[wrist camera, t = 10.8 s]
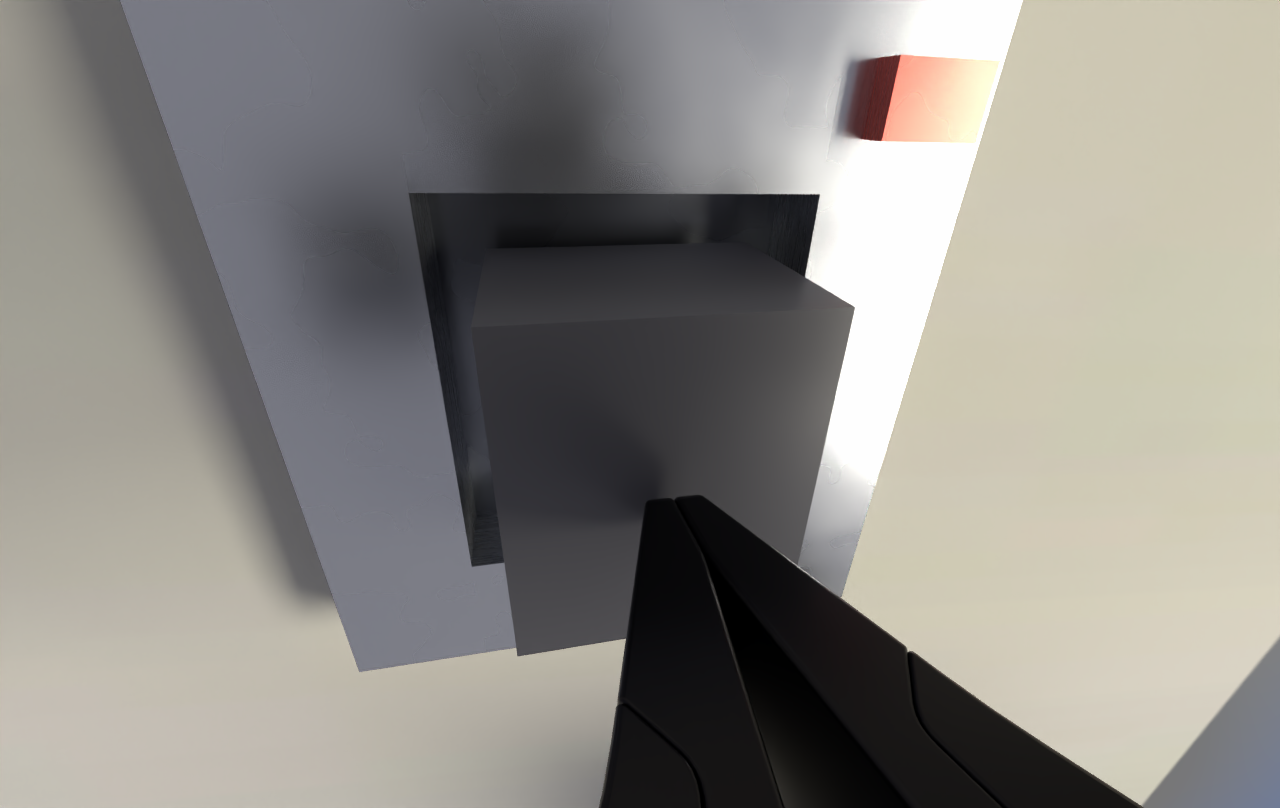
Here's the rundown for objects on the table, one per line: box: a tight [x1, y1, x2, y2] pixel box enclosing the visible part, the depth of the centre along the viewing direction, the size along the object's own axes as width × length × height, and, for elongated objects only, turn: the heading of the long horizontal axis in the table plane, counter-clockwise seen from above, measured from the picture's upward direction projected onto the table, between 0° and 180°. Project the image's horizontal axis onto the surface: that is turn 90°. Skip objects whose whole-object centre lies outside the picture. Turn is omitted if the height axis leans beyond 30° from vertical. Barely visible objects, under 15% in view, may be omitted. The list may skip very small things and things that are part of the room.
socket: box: [120, 0, 1023, 672], centre depth 11 cm, size 14×13×3 cm
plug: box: [471, 242, 856, 656], centre depth 10 cm, size 6×5×5 cm
